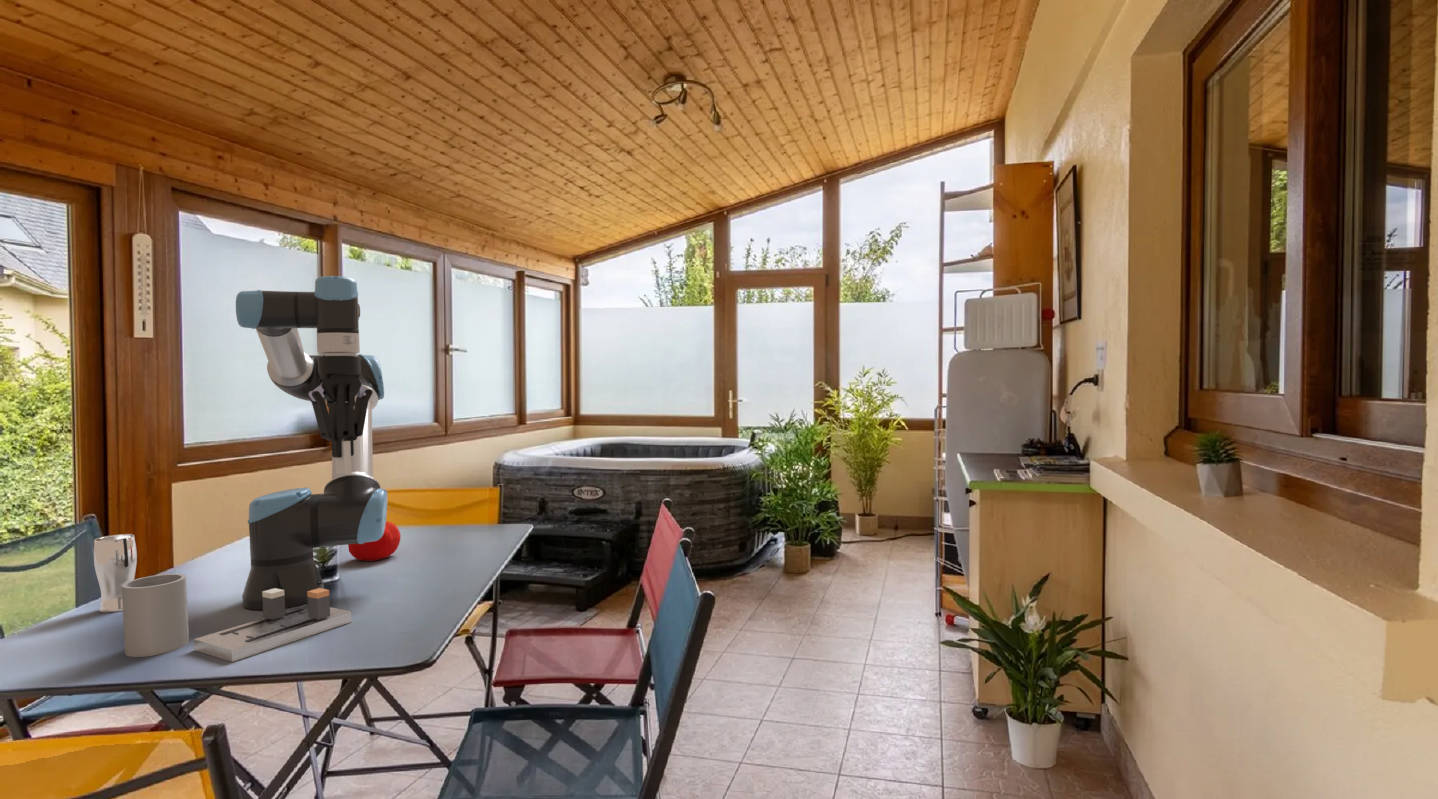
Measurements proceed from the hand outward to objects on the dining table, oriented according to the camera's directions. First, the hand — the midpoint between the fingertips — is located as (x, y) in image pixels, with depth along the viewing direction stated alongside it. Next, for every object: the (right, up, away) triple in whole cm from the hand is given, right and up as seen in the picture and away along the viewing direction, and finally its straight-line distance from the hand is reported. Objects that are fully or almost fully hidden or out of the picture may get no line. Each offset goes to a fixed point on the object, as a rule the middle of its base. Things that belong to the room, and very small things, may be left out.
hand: (343, 473), depth 148 cm
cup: (-26, -30, -15) cm, 42 cm away
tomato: (-15, -27, +46) cm, 55 cm away
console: (-7, -29, -11) cm, 32 cm away
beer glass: (-52, -29, +8) cm, 60 cm away
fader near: (-1, -26, -8) cm, 28 cm away
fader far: (-10, -27, -7) cm, 29 cm away
